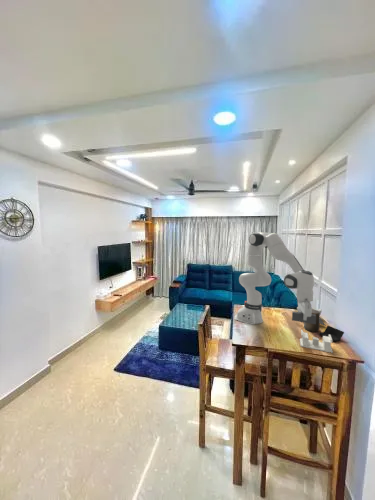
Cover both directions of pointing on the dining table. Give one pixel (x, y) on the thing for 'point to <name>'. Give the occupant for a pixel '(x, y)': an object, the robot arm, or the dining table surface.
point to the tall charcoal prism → (299, 317)
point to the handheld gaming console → (333, 333)
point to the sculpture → (319, 315)
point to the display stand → (316, 342)
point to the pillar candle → (313, 326)
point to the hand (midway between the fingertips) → (303, 318)
